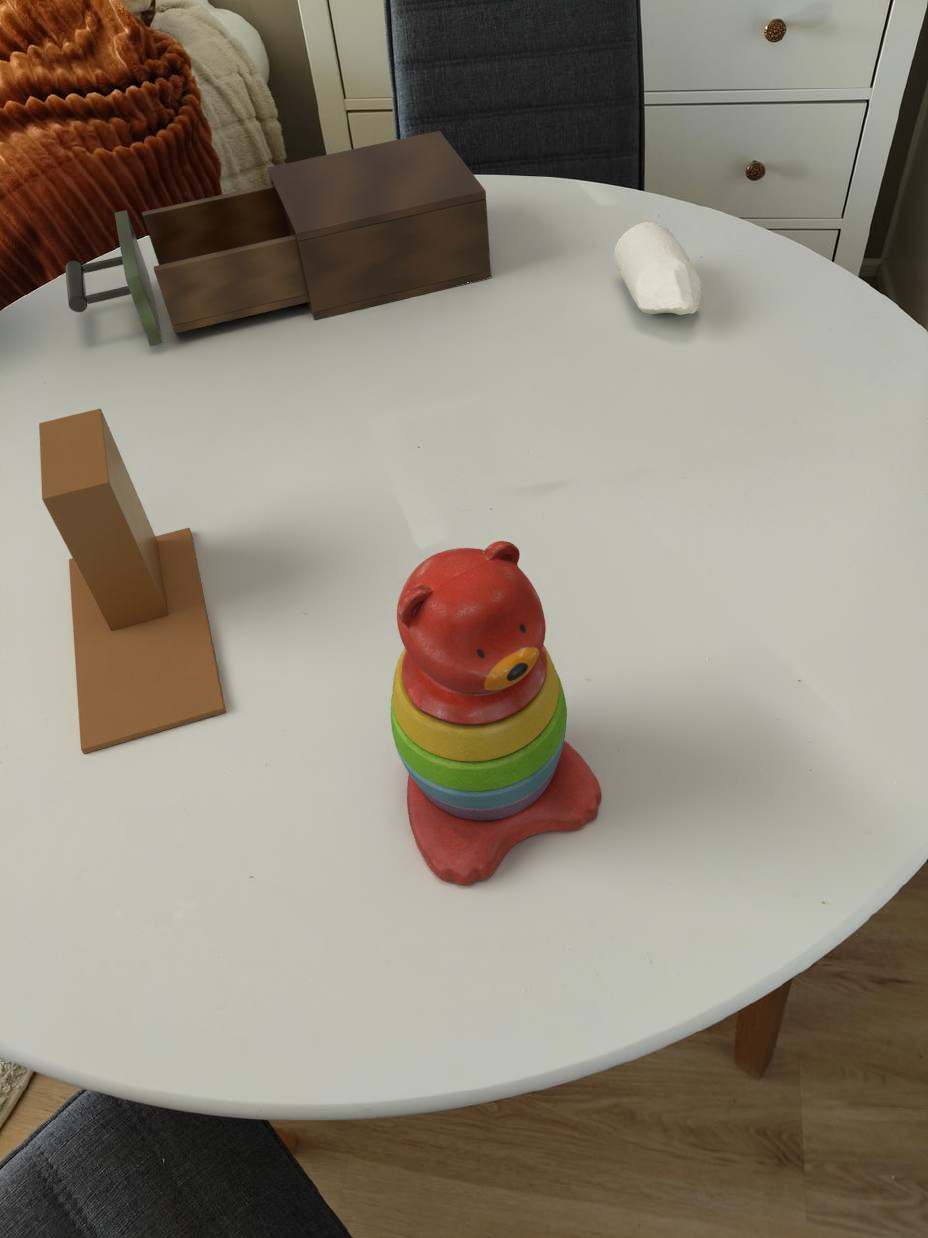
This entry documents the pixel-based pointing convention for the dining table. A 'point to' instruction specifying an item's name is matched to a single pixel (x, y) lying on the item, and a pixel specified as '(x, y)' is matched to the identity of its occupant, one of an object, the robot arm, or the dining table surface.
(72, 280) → the drawer
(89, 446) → the upright tan wooden block
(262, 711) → the dining table surface
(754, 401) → the dining table surface
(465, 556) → the stacking bear
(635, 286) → the roll
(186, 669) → the mat
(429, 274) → the cabinet
